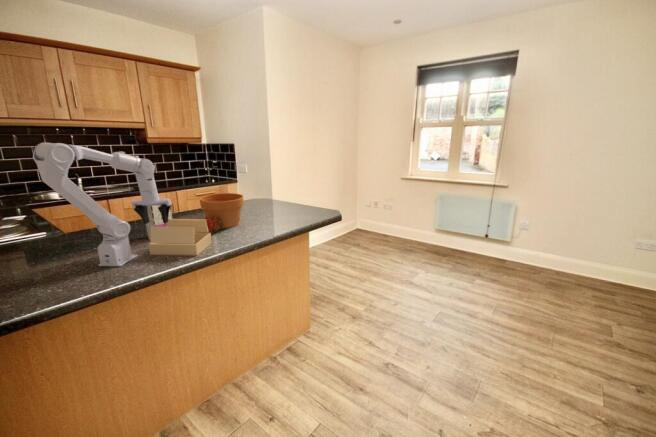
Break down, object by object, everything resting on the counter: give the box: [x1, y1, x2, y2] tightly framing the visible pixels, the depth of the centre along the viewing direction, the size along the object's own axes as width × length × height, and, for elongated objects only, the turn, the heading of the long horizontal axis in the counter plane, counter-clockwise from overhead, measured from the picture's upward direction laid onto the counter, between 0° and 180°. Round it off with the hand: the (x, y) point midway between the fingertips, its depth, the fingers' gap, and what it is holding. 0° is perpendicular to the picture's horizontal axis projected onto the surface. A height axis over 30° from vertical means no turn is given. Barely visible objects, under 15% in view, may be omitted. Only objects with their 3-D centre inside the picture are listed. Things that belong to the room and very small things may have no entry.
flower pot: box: [199, 192, 244, 230], centre depth 147 cm, size 21×21×15 cm
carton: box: [148, 232, 212, 257], centre depth 116 cm, size 14×18×4 cm
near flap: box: [149, 227, 195, 244], centre depth 109 cm, size 6×16×1 cm
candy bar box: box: [145, 198, 174, 240], centre depth 129 cm, size 11×5×16 cm, turn 168°
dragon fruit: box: [201, 216, 222, 234], centre depth 136 cm, size 8×8×12 cm
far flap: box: [167, 218, 210, 233], centre depth 120 cm, size 6×16×1 cm
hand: (156, 222), depth 115 cm, fingers open, 7 cm apart
